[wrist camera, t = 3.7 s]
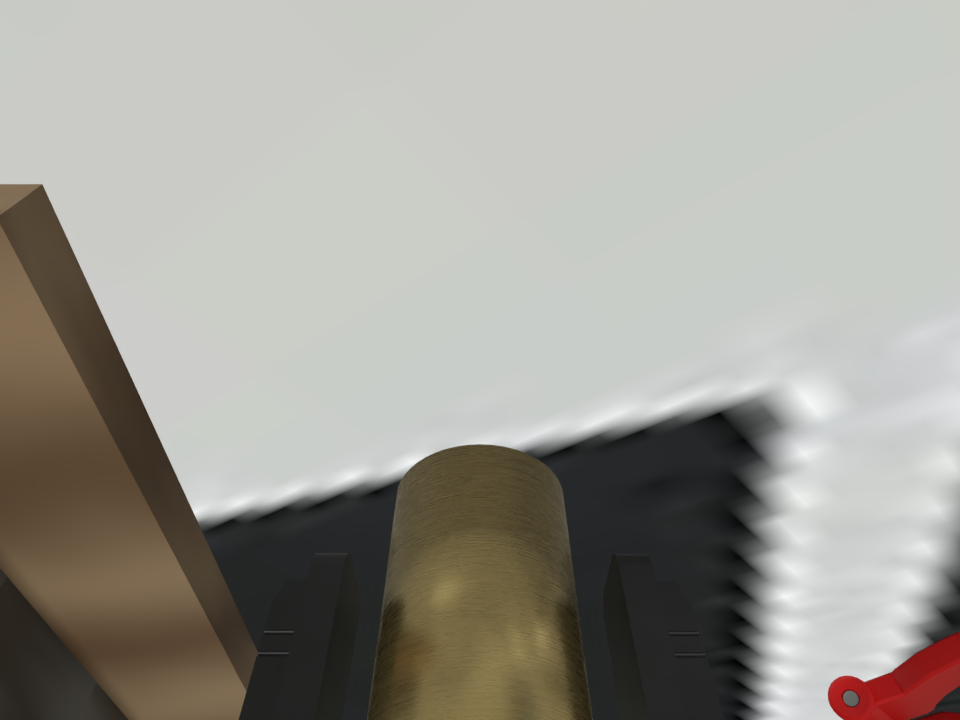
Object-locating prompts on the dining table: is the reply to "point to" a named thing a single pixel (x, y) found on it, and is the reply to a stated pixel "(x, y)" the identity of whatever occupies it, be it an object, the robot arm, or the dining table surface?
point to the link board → (94, 514)
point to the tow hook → (902, 687)
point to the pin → (479, 595)
